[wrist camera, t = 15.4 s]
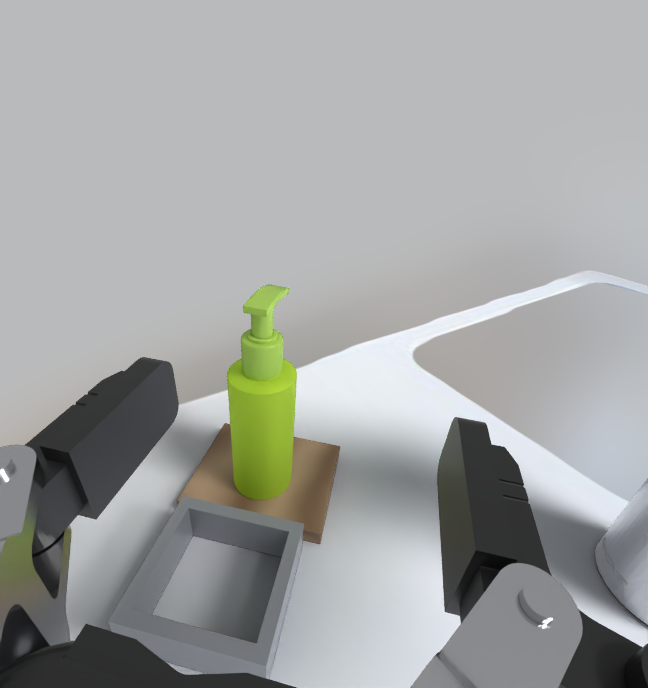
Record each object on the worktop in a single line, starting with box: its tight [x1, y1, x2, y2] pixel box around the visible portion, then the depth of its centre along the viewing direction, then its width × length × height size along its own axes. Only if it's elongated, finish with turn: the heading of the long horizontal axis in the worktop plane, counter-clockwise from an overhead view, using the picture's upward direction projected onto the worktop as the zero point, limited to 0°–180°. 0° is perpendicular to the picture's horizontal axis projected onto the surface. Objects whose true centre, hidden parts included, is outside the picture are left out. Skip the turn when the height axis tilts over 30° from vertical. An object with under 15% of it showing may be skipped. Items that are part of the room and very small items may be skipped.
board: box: [177, 423, 340, 544], centre depth 40 cm, size 14×11×2 cm
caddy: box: [107, 496, 304, 679], centre depth 30 cm, size 11×10×4 cm
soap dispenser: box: [227, 285, 297, 500], centre depth 34 cm, size 6×7×20 cm
